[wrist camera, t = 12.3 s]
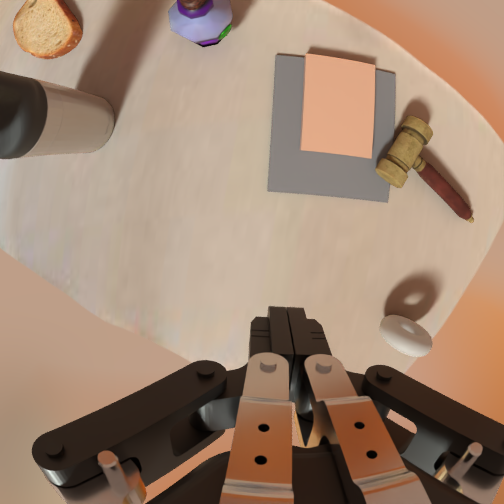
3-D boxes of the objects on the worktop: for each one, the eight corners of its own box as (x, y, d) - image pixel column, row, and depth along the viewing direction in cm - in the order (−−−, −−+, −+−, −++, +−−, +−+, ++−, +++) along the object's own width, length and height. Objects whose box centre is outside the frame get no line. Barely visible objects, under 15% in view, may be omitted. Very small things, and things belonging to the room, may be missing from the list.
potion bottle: (229, 60, 38) (219, 29, 27) (172, 52, 38) (146, 24, 27) (243, 12, 36) (238, -28, 24) (187, 5, 36) (168, -32, 24)
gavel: (493, 200, 40) (466, 249, 42) (477, 195, 44) (450, 241, 47) (418, 114, 35) (383, 171, 37) (401, 115, 39) (369, 168, 42)
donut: (420, 318, 50) (445, 348, 40) (411, 334, 51) (434, 366, 41) (377, 304, 49) (399, 335, 40) (368, 322, 50) (387, 355, 41)
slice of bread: (81, 51, 38) (69, 46, 34) (9, 75, 38) (-3, 72, 34) (97, -29, 32) (89, -37, 29) (25, -1, 33) (15, -6, 29)
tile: (301, 150, 40) (305, 53, 36) (299, 150, 42) (304, 57, 38) (371, 158, 40) (375, 65, 36) (367, 158, 42) (371, 67, 38)
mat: (267, 190, 44) (267, 191, 44) (275, 56, 38) (275, 54, 38) (386, 202, 44) (387, 202, 43) (393, 75, 38) (395, 74, 38)
